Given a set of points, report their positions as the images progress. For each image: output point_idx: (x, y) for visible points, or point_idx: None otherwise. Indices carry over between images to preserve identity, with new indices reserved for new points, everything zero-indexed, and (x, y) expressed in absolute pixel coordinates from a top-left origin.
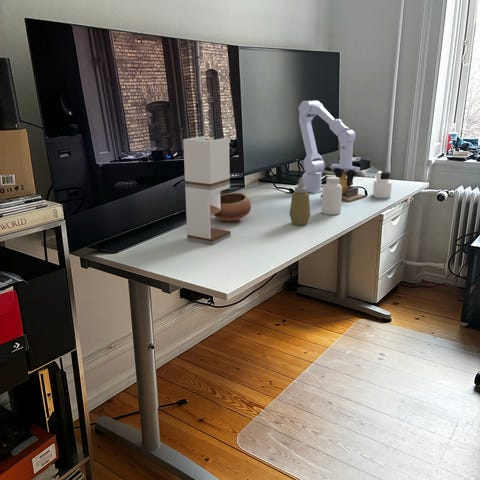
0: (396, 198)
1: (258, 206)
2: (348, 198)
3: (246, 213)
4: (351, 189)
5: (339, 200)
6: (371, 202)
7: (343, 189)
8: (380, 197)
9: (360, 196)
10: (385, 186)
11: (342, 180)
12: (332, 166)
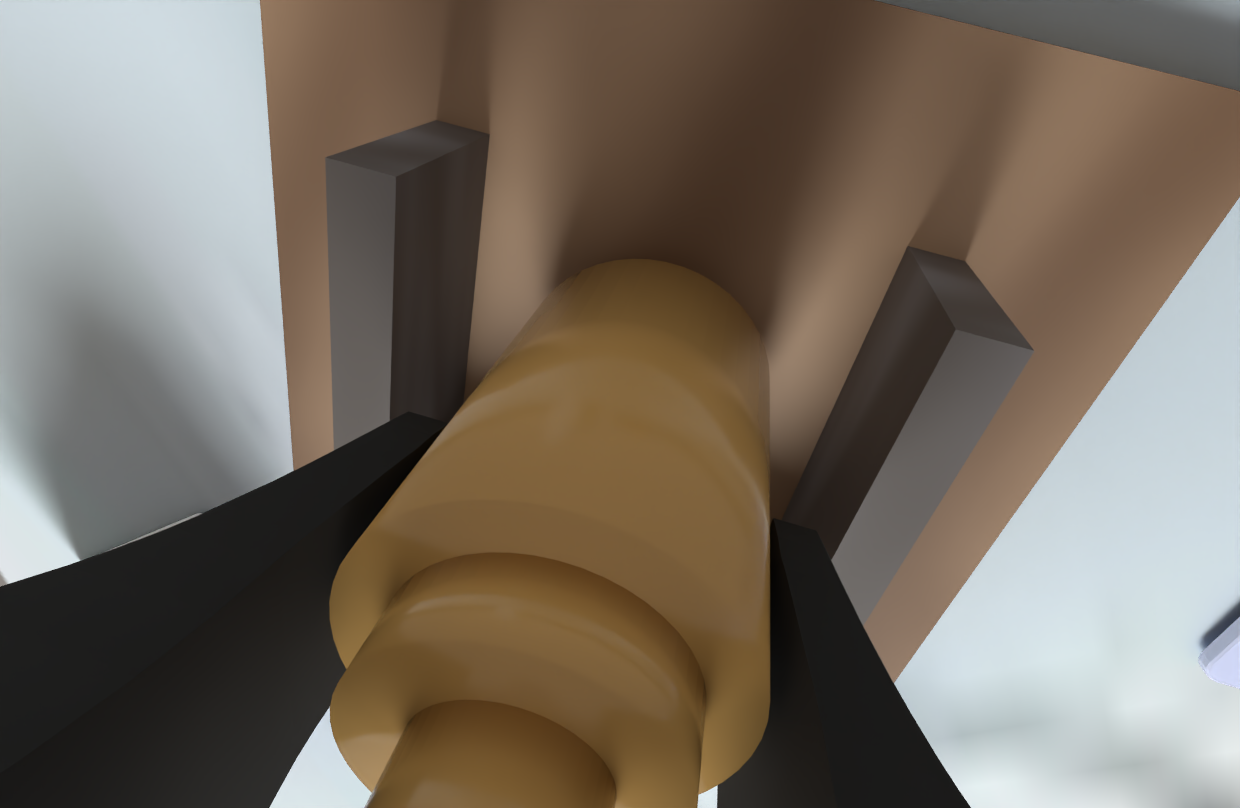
0: (22, 566)
1: None
2: (378, 50)
3: None
4: (331, 342)
5: None
6: (7, 160)
7: (562, 311)
8: (154, 531)
9: (306, 383)
10: None
11: (511, 483)
12: None
